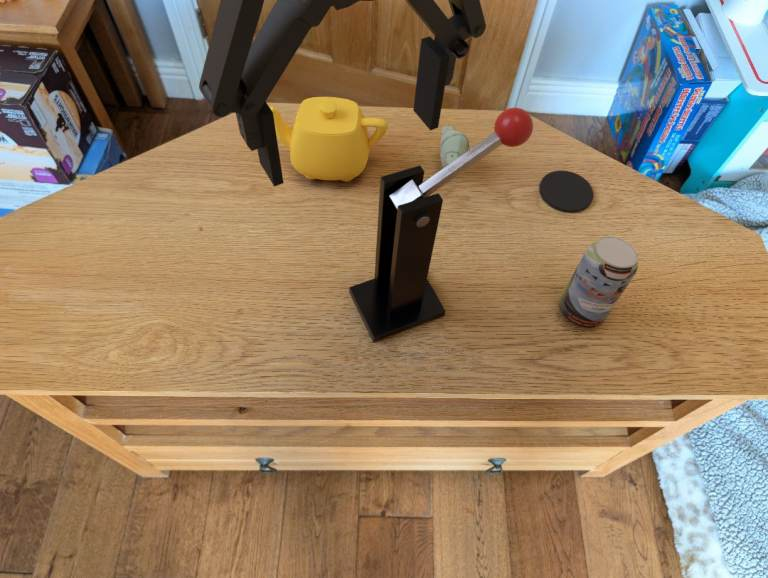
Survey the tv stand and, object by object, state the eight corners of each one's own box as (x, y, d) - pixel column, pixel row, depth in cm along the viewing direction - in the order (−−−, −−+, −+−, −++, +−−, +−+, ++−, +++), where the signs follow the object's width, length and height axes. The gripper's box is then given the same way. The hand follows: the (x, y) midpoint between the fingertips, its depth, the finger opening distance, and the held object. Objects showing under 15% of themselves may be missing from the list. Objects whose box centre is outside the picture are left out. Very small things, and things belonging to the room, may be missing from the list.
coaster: (602, 203, 83) (604, 201, 83) (558, 219, 81) (559, 216, 81) (572, 167, 87) (573, 164, 87) (529, 181, 85) (530, 178, 85)
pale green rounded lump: (434, 149, 88) (439, 115, 82) (459, 149, 88) (467, 115, 82) (439, 187, 84) (446, 154, 78) (466, 187, 84) (475, 153, 78)
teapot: (261, 185, 82) (250, 129, 73) (272, 134, 88) (263, 75, 79) (383, 193, 82) (387, 137, 73) (386, 140, 88) (390, 83, 79)
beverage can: (554, 327, 71) (588, 275, 61) (557, 281, 75) (589, 225, 65) (603, 338, 71) (645, 287, 61) (604, 291, 75) (643, 236, 65)
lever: (523, 114, 55) (515, 92, 52) (543, 138, 53) (536, 117, 50) (397, 203, 58) (383, 187, 55) (412, 228, 56) (398, 213, 53)
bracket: (417, 268, 75) (438, 147, 57) (444, 315, 72) (476, 202, 53) (348, 292, 73) (347, 173, 54) (373, 342, 69) (381, 233, 51)
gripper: (517, -252, 31) (457, 74, 49) (53, -194, 24) (181, 165, 42) (606, -206, 28) (507, 126, 46) (98, -121, 21) (216, 235, 38)
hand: (352, 145), depth 44 cm, fingers open, 13 cm apart
